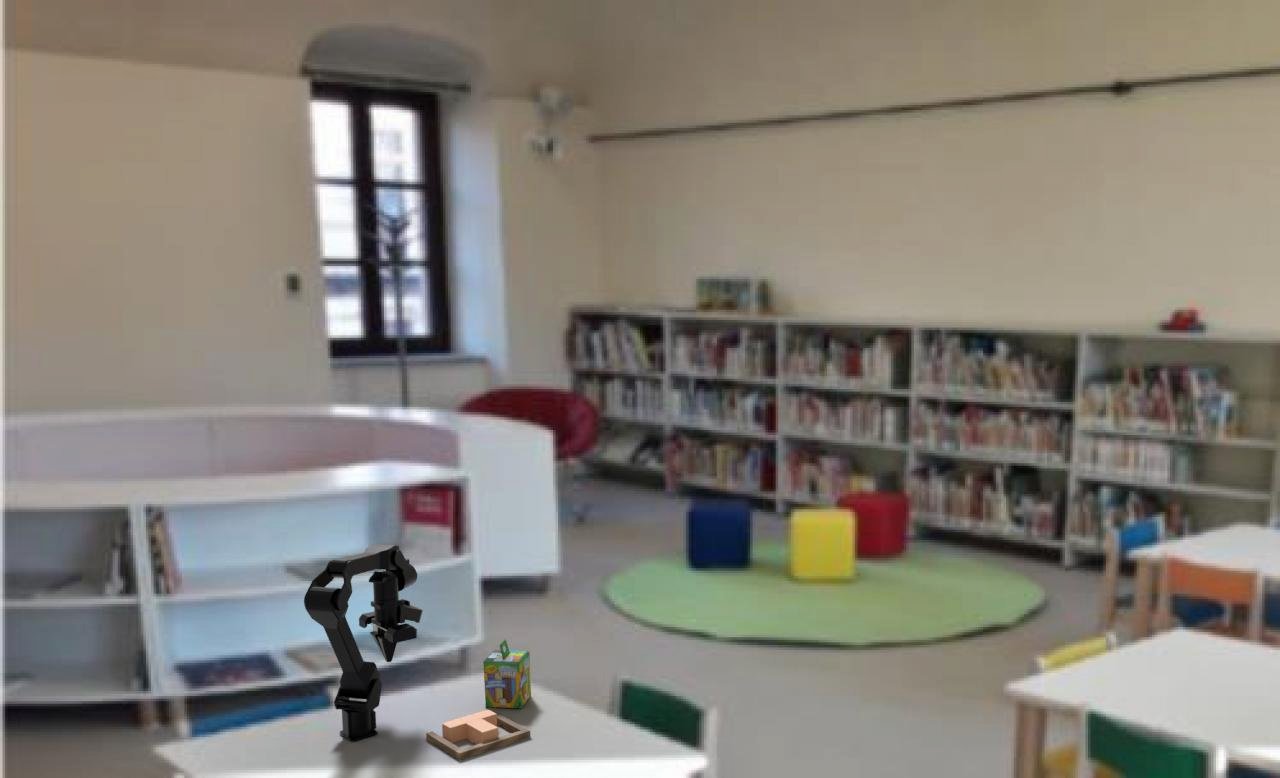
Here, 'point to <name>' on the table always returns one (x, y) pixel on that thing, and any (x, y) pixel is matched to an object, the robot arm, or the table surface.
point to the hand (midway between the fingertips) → (388, 661)
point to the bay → (460, 754)
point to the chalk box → (507, 678)
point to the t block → (472, 728)
